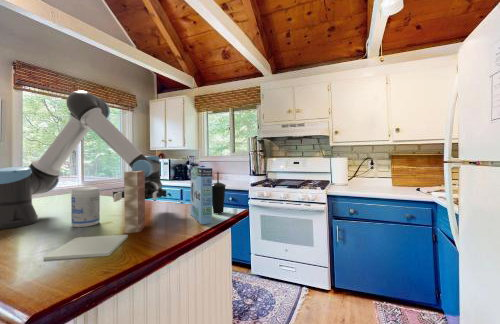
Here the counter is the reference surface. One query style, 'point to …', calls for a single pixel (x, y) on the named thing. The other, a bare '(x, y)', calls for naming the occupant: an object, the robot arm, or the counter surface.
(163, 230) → the counter surface
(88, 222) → the supplement tub
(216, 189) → the drinking cup
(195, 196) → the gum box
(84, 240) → the mat
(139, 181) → the wooden block tower
